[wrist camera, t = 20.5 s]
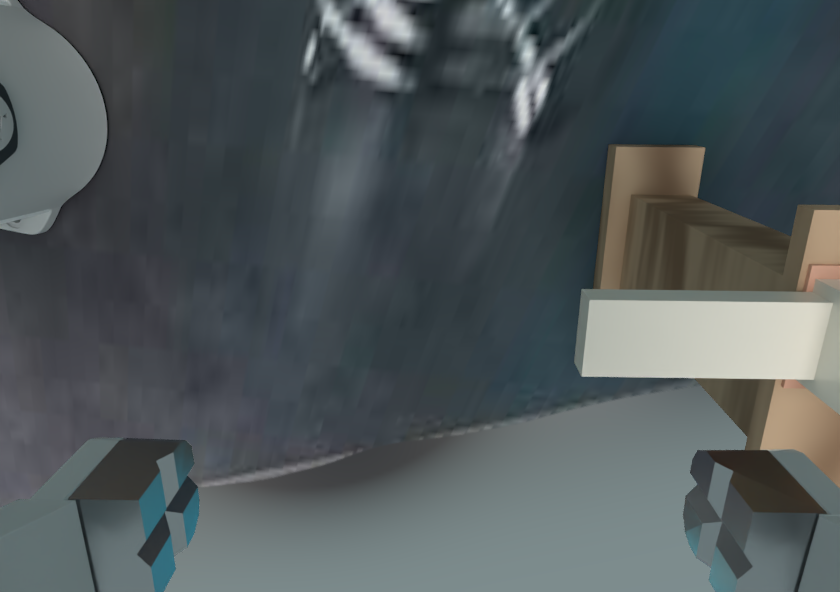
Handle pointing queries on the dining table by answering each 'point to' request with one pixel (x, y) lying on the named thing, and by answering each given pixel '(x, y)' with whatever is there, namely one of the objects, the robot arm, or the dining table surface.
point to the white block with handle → (714, 335)
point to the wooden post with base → (720, 277)
